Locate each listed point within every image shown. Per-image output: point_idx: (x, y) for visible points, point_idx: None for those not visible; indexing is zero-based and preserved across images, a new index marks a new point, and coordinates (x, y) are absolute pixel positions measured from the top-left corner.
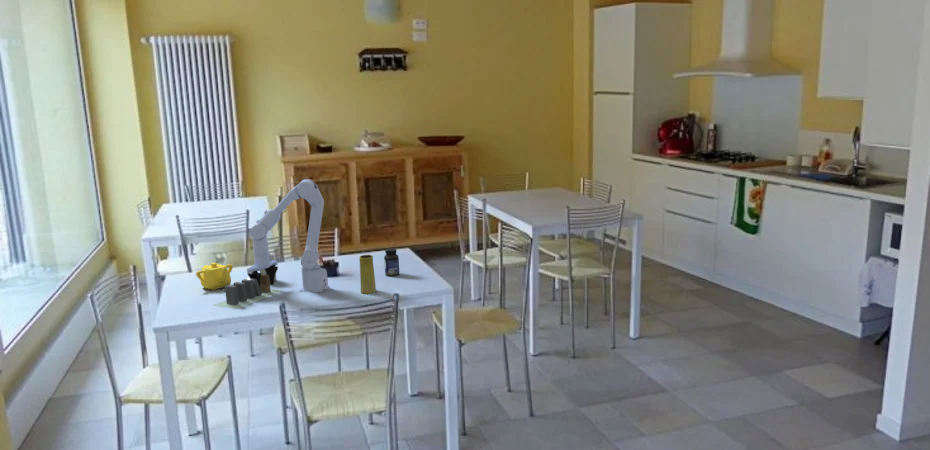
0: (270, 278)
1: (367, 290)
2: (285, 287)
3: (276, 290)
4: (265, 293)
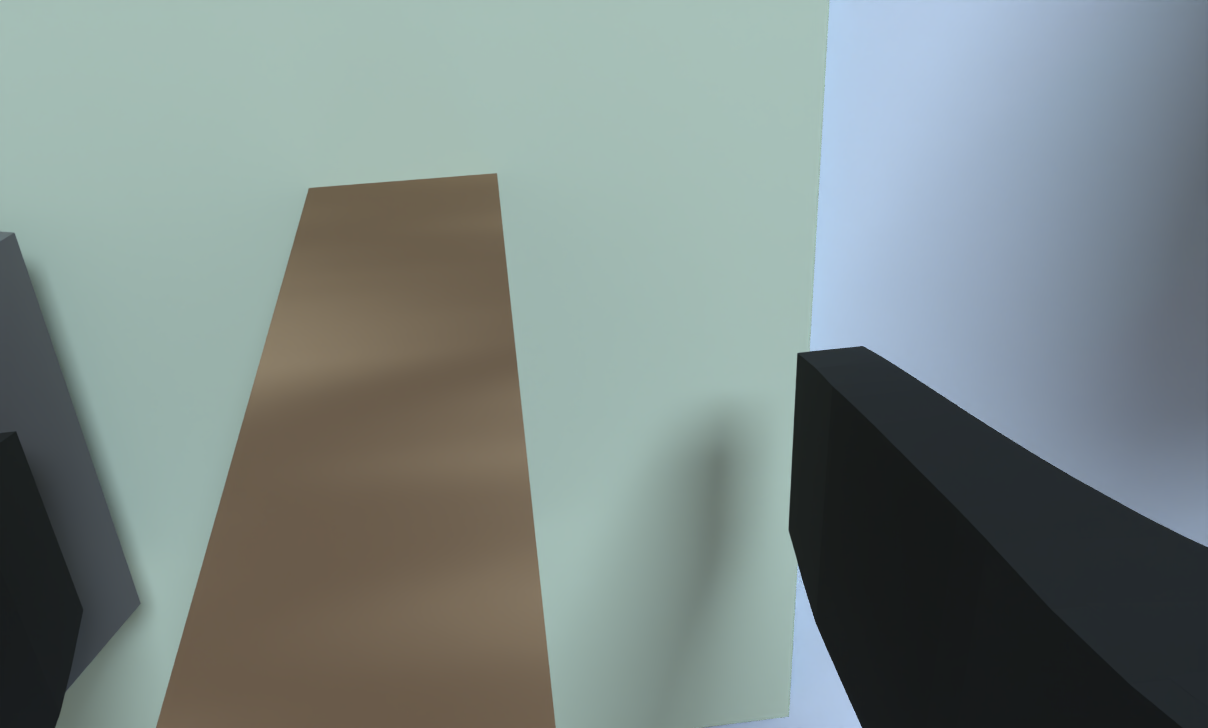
0: (903, 653)
1: None
2: (1156, 463)
3: (726, 561)
4: None
